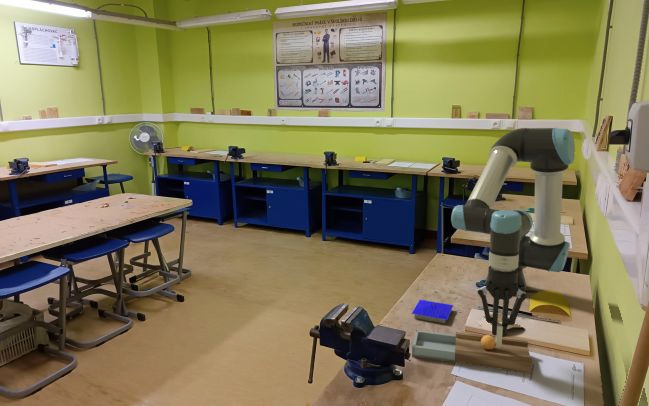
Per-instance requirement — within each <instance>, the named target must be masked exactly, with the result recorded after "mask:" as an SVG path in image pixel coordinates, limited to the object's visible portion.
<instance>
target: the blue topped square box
mask: <svg viewBox="0 0 649 406" xmlns="http://www.w3.org/2000/svg"><path fill="white" fill-rule="evenodd" d="M453 307H454V305H453V304H449V303H448V304H447V303H442V302H437V301H429V300H425V299H418V302H417V304H416V305H415V307H414V309H413V311H412V313H411V314H412V315H414V319H419V320H423V321H429V322H435V323H440V324H441V323H442V324H446V322H447V321H448V319H449V316H450V314H451V313H452V309H453Z"/></svg>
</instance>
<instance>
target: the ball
mask: <svg viewBox="0 0 649 406" xmlns="http://www.w3.org/2000/svg"><path fill="white" fill-rule="evenodd" d="M482 336H483V337H482V339H481V344H482V346H483V347H484V348H485V349H488V350H491V349H493V348H494V347H495V345H496V341H495V339H494V338H493V337H494V336H492V335H491V334H486V335H482Z"/></svg>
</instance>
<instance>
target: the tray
mask: <svg viewBox="0 0 649 406" xmlns="http://www.w3.org/2000/svg"><path fill="white" fill-rule="evenodd" d="M455 343H456V334H449V333H442V332H433V331H425V330H417V329H416V330H415V333H414V338H413V342H412V345H411V348H412V349H411V357H414V358H415V357H416V358H421V359H426V360H427V359H428V360H434V361H439V362H440V361H442V362H448V363H453V364H454V363H455Z"/></svg>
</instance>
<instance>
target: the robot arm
mask: <svg viewBox="0 0 649 406" xmlns="http://www.w3.org/2000/svg"><path fill="white" fill-rule="evenodd" d="M575 144H576V143H575V139H574V134H573V133H572V131H571V130H570V129H568V128H558V127H541V128H540V127H539V128H538V127H535V128H533V127H532V128H531V127H528V128H527V127H522V128H516V129H513V130H511V131H509V132H507V133H506V134H504V135H503V136H501V137H500V138H499V139H497V141H495V143H494V144H492V146H491V148H490V150H489V152H488V154H487V157H488V160H487V163H486V164H485V165H484V169H482V173H481V174H480V176H479V177H478V180H477V181H476V183H475V186H474V187H473V190H472V191H471V193H470V195H469V196H468V199H467V201H466V202H465V204H461V205H460V204H458V205H456V206H454V207H453V209H452V212H451V216H450V217H451V218H450V221H451V225H452V227H453V228H454V229H457V230H459V231H460V230H461V231H464V232H472V233H473V232H474V233H478V234H480V233H481V234H487V235H489V250H488V251H489V252H488V253H489V255H488V273H487V276H486V278H485V284H486V286H485V284H484V286H482V287H480V286H478V287H477V293H478V294H477V295H478V296H479V297H480V299H481V304H482V306H483V312H484V316H485V317H486V321H487V322H488V323H492V334H493V335H496V336H495V337H496V339H495V341H496V347H498V348H501V347H502V338H503V337H507V331H508V329H507V326H508V325H514V323H515V322H516V321H517V319H518V315H519V312H520V309H521V307H522V304H523V302H524V301H525V300H526V299H527V298H528V295H527V293H526V291H527V282H526V277H525V274H524V271H523V270H524V267H525V268H526V267H527V268H531V269H537V270H542V271H547V272H554V273H560V272H562V271H563V270H564V267H565V265H566V262H567V260H568V259H567V258H568V256H569V252H570V246H571V243H570V242H568V241H565V240H566V236H565V235H564V234H563V233H562V232H561V226H562V225H561V224H562V206H563V205H562V201H563V181H564V180H563V179H564V178H563V177H564V172H565V171H567V170H568V169H569V166H570V165H572V164H573V163H574V161H575V152H576V148H575V147H576V146H575ZM518 162H522V163H530V164H529V165H530V169H531V171H533V172H534V221H533V217H532V216H531V214H530V213H529V212H528V211H526V210H525V209H513V210H506V209H493V208H492V207H493V205H494V203H495V202H496V199H497V198H498V195H499V193H500V191H501V189H502V186H503V185H504V182H505V180H506V178H507V177H508V174H509V172H510V170H511V168H514V167H515V166H516V164H517V163H518ZM533 225H534V226H533ZM532 227H533V231H532V232H530V231H531V230H532ZM529 233H530V234H529ZM528 234H529V236H528ZM487 291H488V293H489V295H491V297H492V298H493V302H492V303H493V305H492V314H493V317H490V314H491V313H490V308H489V305H488V300H487V294H488V293H487ZM514 296H516V299H515V301H514V304H513V306H512V309H511V311H510V314H509V305H510V300H511V299H512V298H513V297H514ZM500 300H502V312H501V314H502V322H498V314H499V304H500ZM508 318H509V319H508Z"/></svg>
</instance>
